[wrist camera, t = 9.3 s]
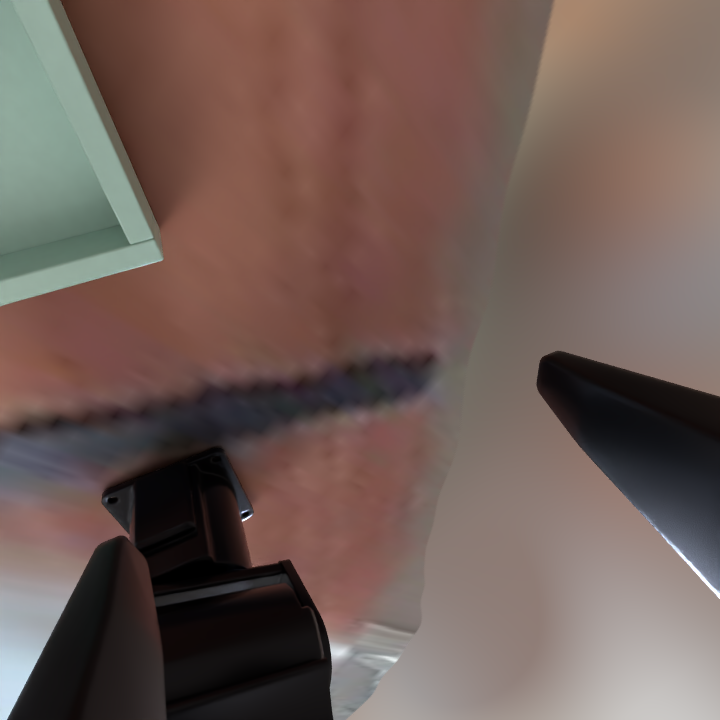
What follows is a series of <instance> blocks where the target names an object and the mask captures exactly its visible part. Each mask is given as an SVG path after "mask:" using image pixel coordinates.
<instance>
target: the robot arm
mask: <svg viewBox="0 0 720 720" xmlns="http://www.w3.org/2000/svg"><path fill="white" fill-rule="evenodd" d="M537 388H538V391H539V393H540V394H541V396H542V397H543V399H544V400H545V401H546V403H547V404H548V405H549V407H550V408H551V409H552V410H553V412H554V413H555V415H556V416H557V417H558V419H559V420H560V421H561V423H562V424H563V425H564V427H565V428H566V429H567V431H568V432H569V433H570V435H571V436H572V437H573V438H574V440H575V441H576V442H577V443H578V445H579V446H580V447H581V448H582V449H583V450H584V452H585V453H586V454H587V455H588V456H589V457H590V458H591V460H592V461H593V462H594V463H595V464H596V465H597V466H598V467H599V468H600V469H601V470H602V471H603V473H604V474H605V475H606V476H607V477H608V478H609V479H610V480H611V481H612V482H613V483H614V484H615V486H616V487H617V488H618V489H619V490H620V491H621V492H622V493H623V494H624V495H625V496H626V497H627V499H628V500H629V501H630V502H631V503H632V504H633V505H634V506H635V507H636V508H637V509H638V510H639V511H640V513H641V514H642V515H643V516H644V517H645V518H646V519H647V520H648V521H649V522H650V523H651V524H652V526H653V527H654V528H655V529H656V530H657V531H658V532H659V533H660V534H661V535H662V536H663V538H664V539H665V540H666V541H667V542H668V543H669V544H670V545H671V546H672V547H673V548H674V549H675V550H676V552H677V553H678V554H679V555H680V556H681V557H682V558H683V559H684V560H685V561H686V562H687V563H688V565H689V566H690V567H691V568H692V569H693V570H694V571H695V572H696V573H697V574H698V575H699V576H700V578H701V579H702V580H703V581H704V582H705V583H706V584H707V585H708V586H709V587H710V588H711V590H712V591H713V592H714V593H715V594H716V595H717V596H718V597H719V598H720V397H719V396H716V395H712V394H709V393H705V392H702V391H698V390H694V389H691V388H688V387H684V386H681V385H677V384H674V383H670V382H667V381H664V380H660V379H656V378H653V377H650V376H646V375H642V374H639V373H635V372H632V371H629V370H625V369H621V368H618V367H615V366H611V365H608V364H604V363H601V362H597V361H594V360H590V359H587V358H583V357H580V356H576V355H573V354H569V353H566V352H562V351H555V352H553V353H550V354H548V355H546V356H544V357H542V358H541V360H540V363H539V370H538V377H537ZM216 456H219V457H217V458H214V457H216ZM111 497H114V498H111ZM102 504H103V505H104V506H105V508H106V509H107V510H108V511H109V512H110V513H111V514H112V516H113V517H114V518H115V519H116V520H117V521H118V522H119V523H120V525H121V526H122V527H123V528H124V529H125V530H126V531H127V532H128V534H129V540H128V538H126V537H125V536H117V537H115V538H113V539H110V540H108V541H105V542H103V543H101V544H100V545H98V547H97V548H96V549H95V551H94V553H93V554H92V556H91V558H90V560H89V562H88V564H87V566H86V568H85V570H84V572H83V574H82V576H81V578H80V580H79V582H78V583H77V585H76V587H75V589H74V591H73V593H72V595H71V597H70V599H69V601H68V603H67V605H66V607H65V609H64V611H63V613H62V614H61V616H60V618H59V620H58V622H57V624H56V626H55V628H54V630H53V632H52V634H51V636H50V638H49V640H48V642H47V643H46V645H45V647H44V649H43V651H42V653H41V655H40V657H39V659H38V661H37V663H36V665H35V667H34V669H33V671H32V672H31V674H30V676H29V678H28V680H27V682H26V684H25V686H24V688H23V690H22V692H21V694H20V696H19V698H18V700H17V701H16V703H15V705H14V707H13V709H12V711H11V713H10V715H9V717H8V719H7V720H333V715H332V707H331V698H330V683H331V673H332V663H331V651H330V644H329V639H328V635H327V631H326V628H325V625H324V622H323V620H322V618H321V616H320V613H319V612H318V610H317V608H316V606H315V604H314V603H313V601H312V599H311V597H310V595H309V594H308V592H307V590H306V588H305V586H304V585H303V583H302V581H301V579H300V577H299V575H298V574H297V572H296V570H295V568H294V566H293V565H292V563H291V561H290V560H282V561H279V562H278V563H276V564H270V565H264V566H258V567H252V563H251V559H250V555H249V550H248V546H247V541H246V537H245V532H244V528H243V524H242V521H243V520H246V519H248V518H250V517H251V516H252V515H253V513H254V512H253V507H252V505H251V503H250V501H249V499H248V497H247V495H246V493H245V491H244V489H243V487H242V485H241V483H240V481H239V479H238V477H237V475H236V473H235V471H234V469H233V467H232V465H231V463H230V461H229V459H228V457H227V455H226V453H225V451H224V450H223V449H221V448H214V449H211V450H208V451H205V452H203V453H200V454H198V455H195V456H193V457H190V458H187V459H185V460H182V461H180V462H177V463H174V464H172V465H169V466H167V467H164V468H161V469H159V470H156V471H154V472H151V473H149V474H146V475H143V476H141V477H138V478H136V479H133V480H130V481H128V482H125V483H123V484H120V485H117V486H115V487H112V488H110V489H107V490H106V491H104V492H103V494H102Z"/></svg>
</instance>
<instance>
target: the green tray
mask: <svg viewBox="0 0 720 720" xmlns="http://www.w3.org/2000/svg"><path fill="white" fill-rule="evenodd" d="M163 259H164V256H163V249H162V242H161V235H160V229H159V227H158V224H157V222H156V220H155V217H154V215H153V213H152V210H151V208H150V206H149V203H148V201H147V199H146V197H145V194H144V192H143V190H142V187H141V185H140V183H139V180H138V178H137V176H136V174H135V171H134V169H133V167H132V164H131V162H130V160H129V157H128V155H127V153H126V151H125V148H124V146H123V144H122V141H121V139H120V137H119V134H118V132H117V130H116V128H115V125H114V123H113V121H112V118H111V116H110V114H109V111H108V109H107V107H106V105H105V102H104V100H103V98H102V95H101V93H100V91H99V88H98V86H97V84H96V81H95V79H94V77H93V75H92V72H91V70H90V68H89V65H88V63H87V61H86V58H85V56H84V54H83V52H82V49H81V47H80V45H79V42H78V40H77V38H76V35H75V33H74V31H73V29H72V26H71V24H70V22H69V19H68V17H67V15H66V12H65V10H64V8H63V6H62V3H61V1H60V0H0V306H2V305H6V304H9V303H13V302H17V301H20V300H24V299H27V298H31V297H34V296H38V295H41V294H45V293H48V292H52V291H56V290H59V289H63V288H66V287H70V286H73V285H77V284H80V283H84V282H88V281H91V280H95V279H98V278H102V277H105V276H109V275H112V274H116V273H120V272H123V271H127V270H130V269H134V268H137V267H141V266H144V265H148V264H151V263H155V262H159V261H162V260H163Z"/></svg>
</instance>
